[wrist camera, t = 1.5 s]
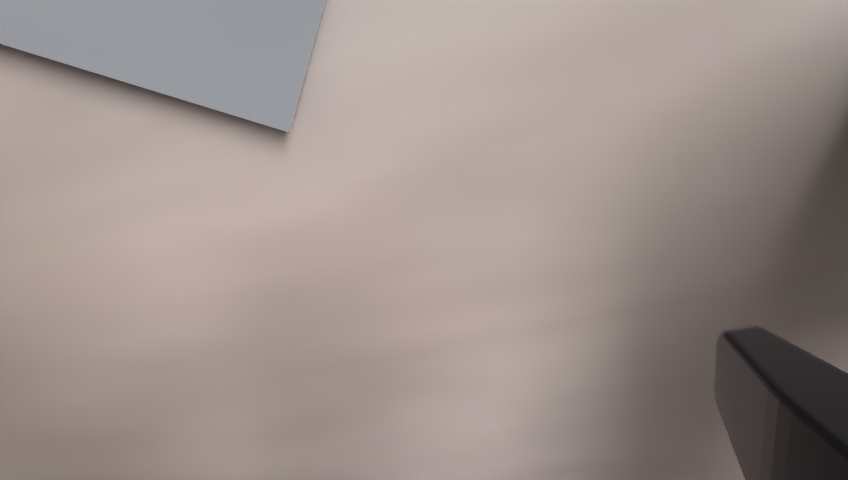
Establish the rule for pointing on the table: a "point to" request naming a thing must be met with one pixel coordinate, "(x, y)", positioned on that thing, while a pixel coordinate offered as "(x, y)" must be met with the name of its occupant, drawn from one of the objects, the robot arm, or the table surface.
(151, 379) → the table surface
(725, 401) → the robot arm
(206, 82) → the coaster
